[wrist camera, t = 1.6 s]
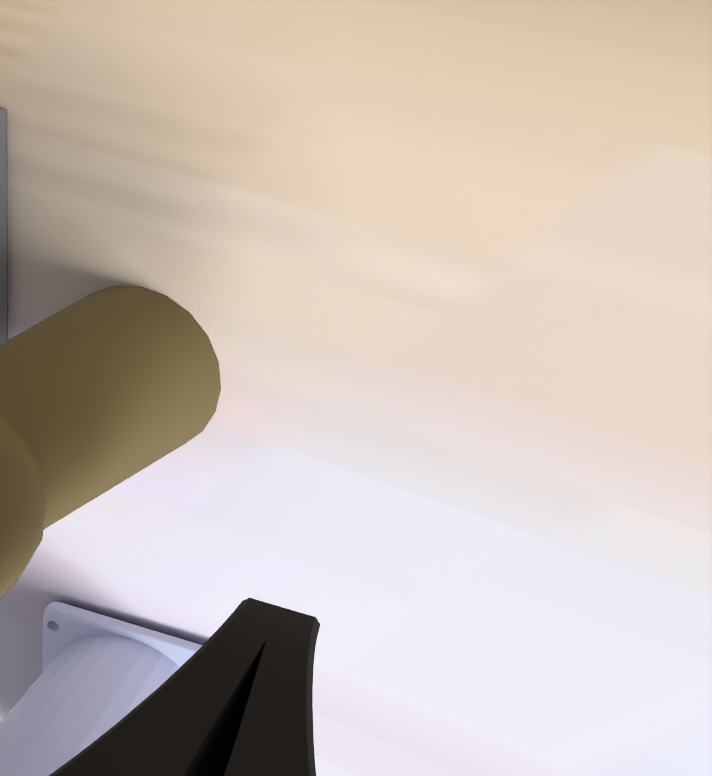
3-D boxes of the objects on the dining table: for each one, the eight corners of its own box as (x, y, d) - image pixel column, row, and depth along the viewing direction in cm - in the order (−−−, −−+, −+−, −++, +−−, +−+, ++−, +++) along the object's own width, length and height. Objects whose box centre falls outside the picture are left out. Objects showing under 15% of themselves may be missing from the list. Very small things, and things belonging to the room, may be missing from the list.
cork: (27, 331, 20) (-409, 478, 10) (160, 253, 19) (-202, 333, 8) (120, 473, 22) (-179, 729, 11) (252, 412, 20) (39, 650, 10)
